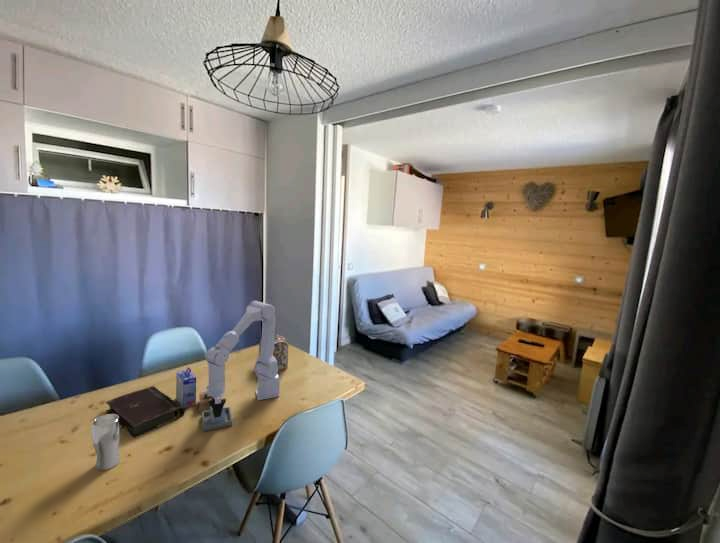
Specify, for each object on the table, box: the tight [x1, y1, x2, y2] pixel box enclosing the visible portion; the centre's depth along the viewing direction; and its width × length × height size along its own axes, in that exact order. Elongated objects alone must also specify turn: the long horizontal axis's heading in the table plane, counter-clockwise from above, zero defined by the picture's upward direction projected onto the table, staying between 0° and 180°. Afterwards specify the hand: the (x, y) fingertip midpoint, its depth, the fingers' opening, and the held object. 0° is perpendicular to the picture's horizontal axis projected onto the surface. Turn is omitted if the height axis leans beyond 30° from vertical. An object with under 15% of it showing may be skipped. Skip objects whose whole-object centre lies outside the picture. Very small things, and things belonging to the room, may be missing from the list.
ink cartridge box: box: [175, 366, 197, 409], centre depth 136 cm, size 10×6×14 cm, turn 45°
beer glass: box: [91, 413, 121, 472], centre depth 100 cm, size 7×7×15 cm
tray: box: [201, 406, 233, 433], centre depth 125 cm, size 10×10×2 cm
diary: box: [105, 385, 186, 439], centre depth 127 cm, size 19×25×5 cm
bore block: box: [198, 391, 212, 413], centre depth 136 cm, size 8×8×4 cm
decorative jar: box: [258, 333, 289, 371], centre depth 173 cm, size 12×12×18 cm
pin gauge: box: [205, 385, 212, 399], centre depth 136 cm, size 3×3×8 cm
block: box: [209, 403, 226, 424], centre depth 125 cm, size 5×5×6 cm
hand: (217, 411), depth 125 cm, fingers open, 7 cm apart
